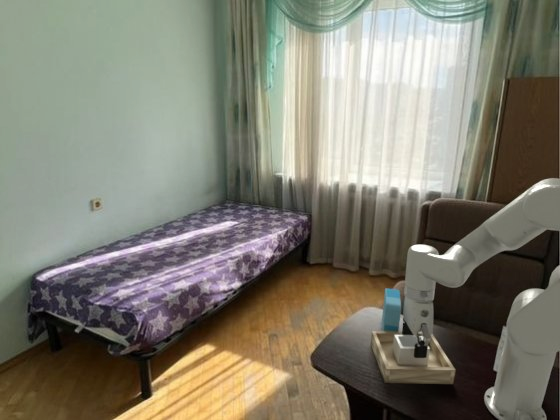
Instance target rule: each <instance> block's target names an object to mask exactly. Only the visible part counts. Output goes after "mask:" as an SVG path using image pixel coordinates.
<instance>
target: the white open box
mask: <svg viewBox="0 0 560 420" xmlns="http://www.w3.org/2000/svg"><path fill="white" fill-rule="evenodd" d="M421 340H423V336H419V341H421ZM415 344H416V337H415V335H394V341H393V349H392V353H393V355H394V358H395V360H396V362H397V365H398V366H405V367H427V366H428V360H429V353H430V348H429V346H428V348H427V356H426V358H415V357H414V348H415Z"/></svg>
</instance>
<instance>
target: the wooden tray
mask: <svg viewBox="0 0 560 420" xmlns="http://www.w3.org/2000/svg"><path fill="white" fill-rule="evenodd" d="M419 333H422V331H419ZM394 335H403V334H402V331H398V332H394V331H381V330H372V331H371V336H370V337H371V339H370V346H371V348H372V350H373V351H372V352H373V354H374V356H375V357H374V358H375V360H376V363H377V365H378V369H379V370H380V373H381V374H380V375H381V376H382V379H383V382H384V384H422V385H424V384H425V385H426V384H427V385H428V384H430V385H433V384H434V385H453V384H454V381H455V375H456V368H455V367H454V365H453V364H452V362H451V360H450V359H449V358H448V356H447V355H446V353H445V351H444V350H443V348H442V347H441V345H440V344H439V341H438V340H437V339H436V337H435V336H434V334H433V333H432V335H431V336H430V338H431V341H430V344H429V348H430V353H429V360H428V366H427V367H405V366H398V365H397V362H396V360H395V358H394V355H393V353H392V349H393V341H394ZM413 335H414V334H413Z"/></svg>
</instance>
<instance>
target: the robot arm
mask: <svg viewBox="0 0 560 420" xmlns="http://www.w3.org/2000/svg"><path fill="white" fill-rule="evenodd" d="M547 230H549V231H558V232H560V178H557V177H555V178H554V177H550V178H546V179H542V180H540V181H538V182H537V183H535V184H533V185H532V186H530V187H529V188H527V190H525V191H524V192H523V193H521V194H519V196H517V197H516V198H515V199H513V200H512V201H511V202H510V203H508V204H507V205H505V206H504V207H502V208H501V209H500V210H498V211H497V212H495V213H494V214H493V215H492V216H490V217H489V218H487V219H486V220H485V221H484V222H483V223H481V224H480V225H479V226H478V227H476V229H474V230H472V231H471V232H470V233H468V234H467V235H466V236H465V237H463V238H462V239H460V240H459V241H458V242H455V244H454V245H452V246H451V247H449V248H448V250H447V251H446V252H444V254H440V253H439V251H438V249H437V248H435V247H434V246H431V245H427V244H414V245H411V246H410V247H409V248H408V251H407V256H406V257H407V258H406V266H405V279H404V280H405V281H404V289H403V295H404V301H403V310H402V316H403V317H402V321H403V322H402V329H401V330H402V331H401V332H402V334H403V335H413V334H414V335H415V337H416V344H415V348H414V357H415V358H426V356H427V348H428V346H429V344H430V341H431V338H430V336H431V335H432V334H433V331H434V330H433V326H434V302H433V301H434V299H435V291H436V284H437V283H438V284H440V285H442V286H444V287H447V288H458V287H461V286H463V285H464V284H465V282H466V281H467V280H468V278H469V277H470V276H471V274H472V272H473V271H474V270H475V269H476V268H478V267H479V266H480V265H481V264H483V263H484V262H486V261H487V260H489V259H490V258H492V257H494V256H495V255H497V254H499V253H502V252H504V251H514V250H518V249H519V248H521V247H523V246H525V245H526V244H528V243H529V242H530V241H531V240H534V239H535V238H536V237H537V236H539V235H541V234H542V233H544V232H545V231H547ZM506 329H507V333H506V338H505V342H504V347H503V350H502V355H501V359H500V364H499V368H498V372H496V377H495V378H496V379H495V382H494V386H491V387H490V388H488V389H487V390H486V391H485V393H484V396H483V399H484V400H483V401H484V404H485V406H486V408H487V409H488V411H489V412H490V413H491V415H493V416H494V418H496V419H498V420H547V414H546V413H545V410H544V409H543V407H542V405H543V403H544V402H543V401H544V398H545V395H546V391H547V387H548V384H549V382H550V381H549V380H550V376H551V372H552V369H553V367H554V363H555V360H556V356H557V353H558V352H560V264H559V265H558V266H556V267H555V269H554V270H553V271H552V272H551V275H550V277H549V282H548V286H547V287H546V288H545V289H542V288H528V289H526V290H523V291H522V292H520V293H519V294H518V295H517V296H516V297H515V298H514V300H513V302H512V305H511V308H510V311H509V314H508V317H507V321H506ZM419 332H422V333H419ZM419 336H423V340H421V341H419Z"/></svg>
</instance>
